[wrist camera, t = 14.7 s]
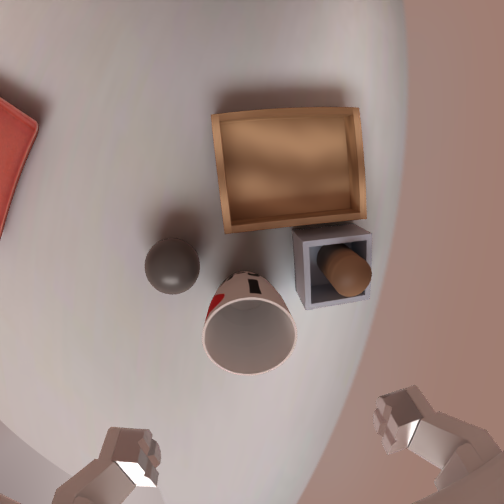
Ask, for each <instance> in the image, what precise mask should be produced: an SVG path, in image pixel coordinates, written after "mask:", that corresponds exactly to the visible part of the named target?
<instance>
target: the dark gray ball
mask: <svg viewBox="0 0 504 504" xmlns="http://www.w3.org/2000/svg"><path fill="white" fill-rule="evenodd" d="M199 271H200V262H199V258H198V255H197V253H196V251H195V250H194V248H193V247H192V246H191V245H189V244H188V243H187V242H185V241H183V240H180V239H176V238H169V239H164V240H161V241H159V242H158V243H156V244H155V245H154V246H153V247H152V248H151V249H150V251H149V252H148V254H147V256H146V260H145V273H146V276H147V278H148V280H149V282H150V283H151V285H152V286H153V287H154V288H156V289H157V290H158V291H160V292H163V293H166V294H179V293H182V292H185V291H187V290H188V289H189V288H191V287H192V286H193V284H194V283H195V282H196V280H197V278H198V275H199Z"/></svg>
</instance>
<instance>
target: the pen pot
mask: <svg viewBox="0 0 504 504" xmlns="http://www.w3.org/2000/svg"><path fill="white" fill-rule="evenodd" d="M292 235H293V249H294V265H295V283H296V291H297V293H298V295H299V297H300V300H301V302H302V304H303V306H304V308H305V310H309V309H315V308H321V307H328V306H334V305H340V304H345V303H351V302H357V301H362V300H368V299H370V287H371V280H370V283H369V285H368V286H367V288H366V289H365V290H364V291H363V292H362V293H360V294H358V295H356V296H352V297H346V296H343V295H341V294H339V293H338V292H337V291H336V289H335V288H334V287H333V285H332V284H331V283H330V282H329V280H328V279H327V278H326V277H325V275H324V274H323V273H322V271H321V270H320V269H319V267H318V265H317V254H318V251H319V250H320V248H321V247H322V246H323V245H331V244H339V243H344V244H345V245H346V246H348V247H349V248H350V249H351V250H353V251H354V252H355V253H357V254H358V255H359V256H360V257H362V258H363V259H364V260H365V261H367V262H368V264H369V265H370V267H371V264H372V233H370V232H368V231H366V230H365V229H363V228H361V227H359V226H357V225H355V224H354V223H351V224H341V225H332V226H322V227H313V228H304V229H295V230H292Z"/></svg>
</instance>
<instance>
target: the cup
mask: <svg viewBox="0 0 504 504" xmlns="http://www.w3.org/2000/svg"><path fill="white" fill-rule="evenodd" d="M296 341H297V328H296V324H295V322H294V320H293V318H292V316H291V314H290V312H289V310H288V308H287V306H286V304H285V302H284V300H283V299H282V297H281V295H280V294H279V293H278V292H277V291H276V290H275V288H274V287H273V286H272V285H271V284H270V283H269V281H267V280H266V279H265V278H263V277H262V276H260V275H258V274H256V273H253V272H250V271H240V272H237V273H234V274H232V275H231V276H230V277H228V278H227V279H226V280H225V281H224V282H223V283H222V284H221V285H220V286H219V288H218V290H217V292H216V293H215V295H214V297H213V299H212V301H211V303H210V306H209V309H208V313H207V317H206V321H205V324H204V328H203V333H202V343H203V347H204V350H205V352H206V354H207V356H208V357H209V358H210V360H211V361H212V362H213V363H214V364H216V365H217V366H218V367H220V368H221V369H223V370H225V371H227V372H230V373H233V374H238V375H258V374H263V373H266V372H269V371H271V370H273V369H275V368H277V367H278V366H280V365H281V364H282V363H284V362H285V361H286V360H287V359H288V357H289V356H290V355H291V353H292V352H293V350H294V348H295V345H296Z"/></svg>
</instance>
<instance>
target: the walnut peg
mask: <svg viewBox="0 0 504 504" xmlns="http://www.w3.org/2000/svg"><path fill="white" fill-rule="evenodd" d="M317 265H318V267H319V269H320V270H321V271H322V273H323V274H324V275H325V277H326V278H327V279H328V280H329V282H330V283H331V284H332V285H333V287H334V288H335V289H336V291H337V292H338V293H339V294H341V295H343V296H346V297H352V296H356V295H358V294H360V293H362V292H363V291H364V290H365V289H366V288H367V286H368V285H369V283H370V280H371V276H372V272H371V267H370V265H369V264H368V262H367V261H365V260H364V259H363V258H362V257H360V256H359V255H358V254H357V253H355V252H354V251H353V250H351V249H350V248H349V247H348V246H346V245H345V244H344V243H339V244H331V245H323V246H322V247H321V248H320V250H319V251H318V254H317Z"/></svg>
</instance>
